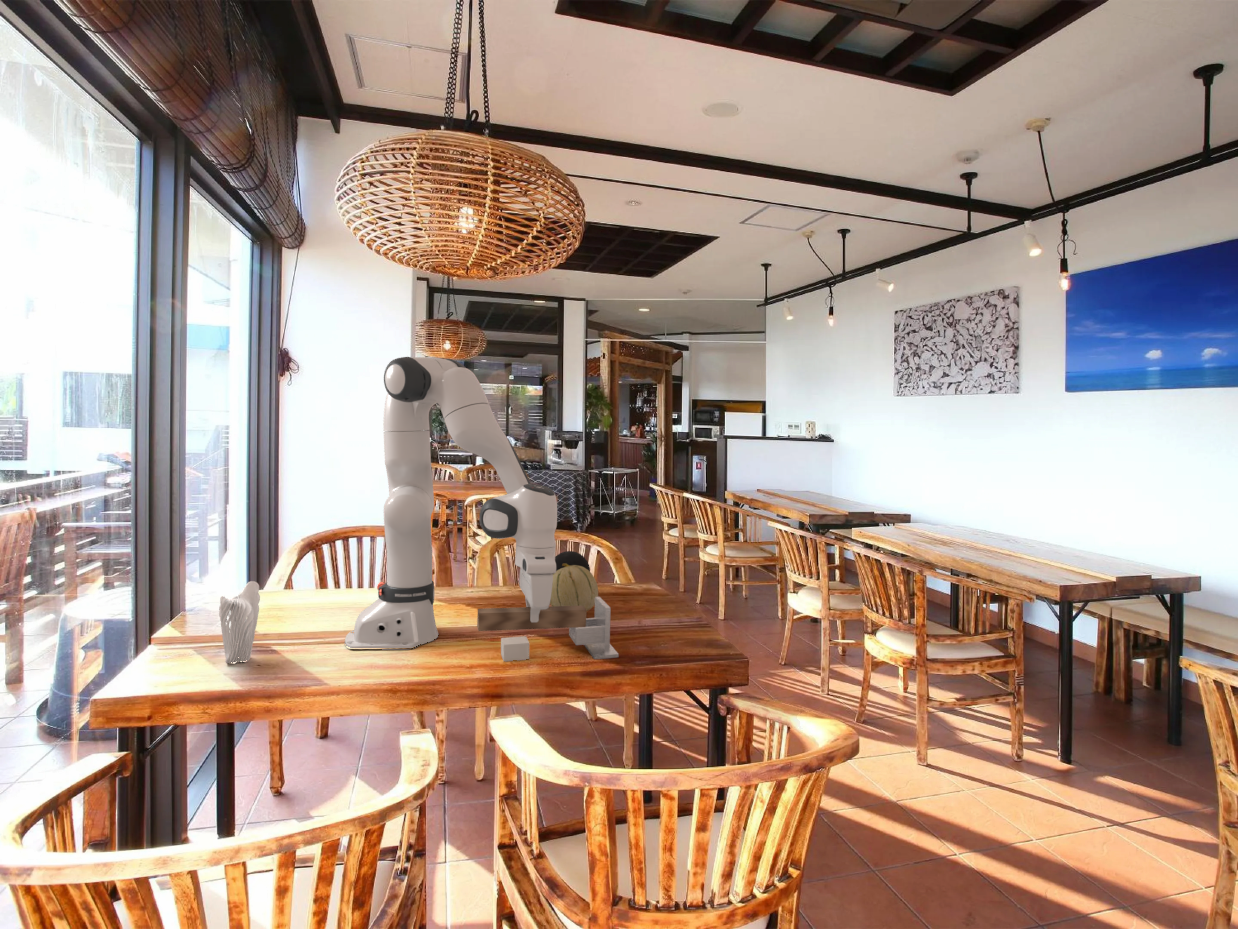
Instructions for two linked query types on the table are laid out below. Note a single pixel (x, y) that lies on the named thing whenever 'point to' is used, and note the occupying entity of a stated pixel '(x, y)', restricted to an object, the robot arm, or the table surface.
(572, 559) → the black rounded lump
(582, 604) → the cantaloupe
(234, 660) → the shell sculpture
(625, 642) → the table surface
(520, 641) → the pale grey block
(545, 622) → the walnut rail
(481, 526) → the robot arm
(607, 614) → the bracket
